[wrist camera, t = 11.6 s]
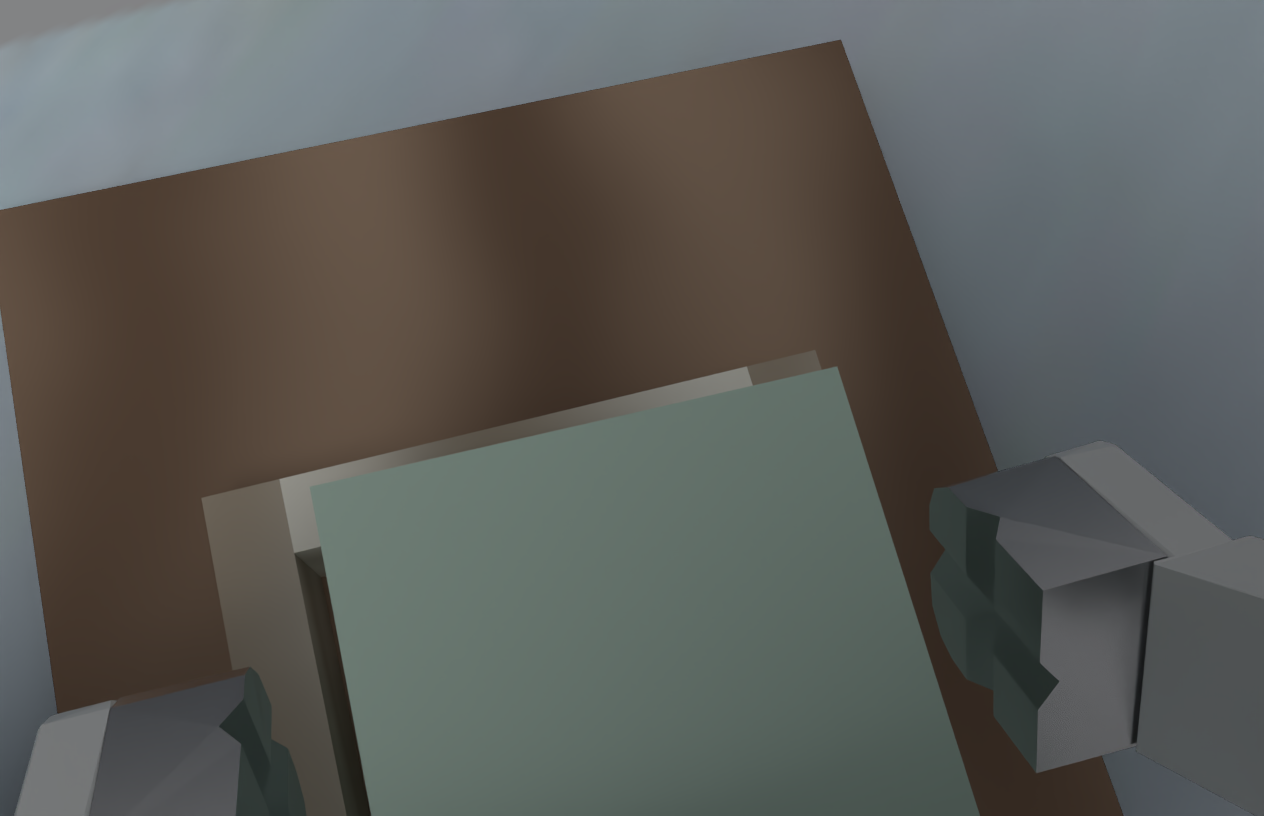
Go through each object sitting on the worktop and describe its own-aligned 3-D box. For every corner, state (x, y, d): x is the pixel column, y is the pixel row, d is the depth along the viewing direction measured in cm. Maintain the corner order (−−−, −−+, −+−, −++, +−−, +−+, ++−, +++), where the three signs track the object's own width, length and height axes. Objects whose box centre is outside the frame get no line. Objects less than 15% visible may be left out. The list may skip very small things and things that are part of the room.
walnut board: (827, 72, 22) (871, -36, 19) (1281, 1341, 16) (1439, 1461, 13) (13, 240, 20) (-77, 148, 17) (235, 1747, 14) (159, 1989, 11)
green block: (697, 563, 18) (837, 365, 9) (773, 842, 17) (1011, 915, 8) (429, 629, 17) (309, 487, 9) (489, 923, 16) (423, 1091, 8)
